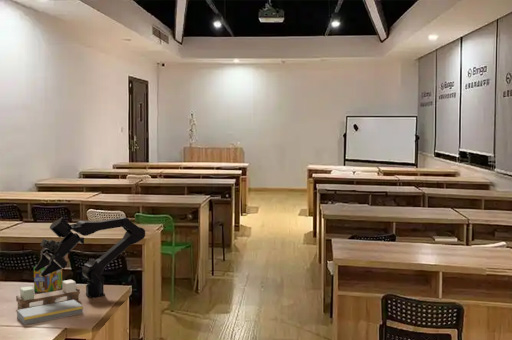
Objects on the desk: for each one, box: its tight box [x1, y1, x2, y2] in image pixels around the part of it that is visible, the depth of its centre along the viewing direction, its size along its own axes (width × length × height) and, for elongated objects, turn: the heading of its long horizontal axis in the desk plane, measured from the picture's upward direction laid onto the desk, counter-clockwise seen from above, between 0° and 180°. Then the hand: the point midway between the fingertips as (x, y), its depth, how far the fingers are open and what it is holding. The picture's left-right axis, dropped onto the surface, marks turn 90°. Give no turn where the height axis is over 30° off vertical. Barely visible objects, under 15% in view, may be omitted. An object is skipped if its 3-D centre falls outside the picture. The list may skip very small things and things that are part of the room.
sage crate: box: [19, 285, 35, 300], centre depth 223 cm, size 4×5×4 cm
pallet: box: [15, 286, 81, 310], centre depth 229 cm, size 24×6×5 cm, turn 128°
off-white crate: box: [61, 279, 77, 293], centre depth 234 cm, size 4×5×4 cm
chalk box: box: [33, 265, 63, 293], centre depth 248 cm, size 9×9×15 cm
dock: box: [16, 299, 84, 326], centre depth 215 cm, size 22×10×3 cm, turn 128°
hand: (38, 273), depth 226 cm, fingers open, 9 cm apart
